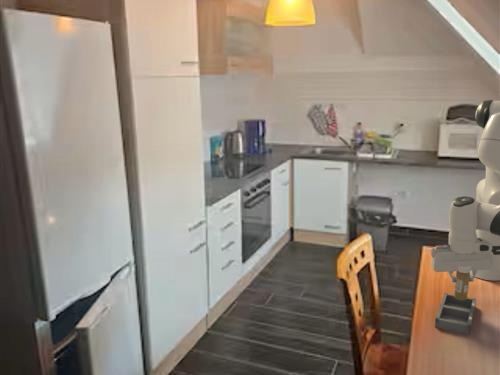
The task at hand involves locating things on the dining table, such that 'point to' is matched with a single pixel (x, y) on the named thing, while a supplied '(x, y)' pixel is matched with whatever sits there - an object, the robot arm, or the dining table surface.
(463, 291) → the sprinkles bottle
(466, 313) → the grey divided tray
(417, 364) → the dining table surface
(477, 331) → the dining table surface
